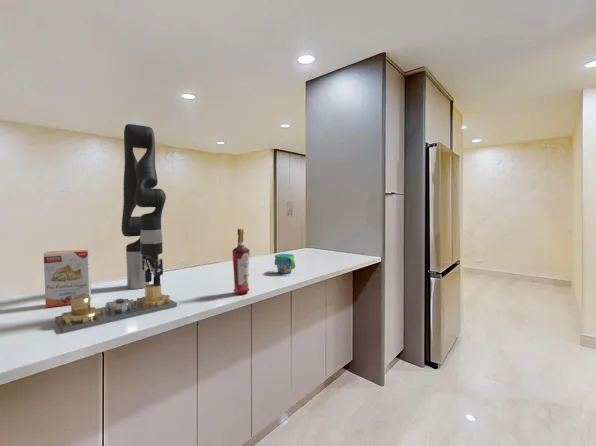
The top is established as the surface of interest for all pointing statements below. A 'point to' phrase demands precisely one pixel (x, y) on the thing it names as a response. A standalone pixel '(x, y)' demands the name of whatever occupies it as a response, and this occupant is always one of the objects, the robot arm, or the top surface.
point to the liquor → (241, 265)
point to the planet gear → (153, 297)
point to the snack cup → (284, 263)
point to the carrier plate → (102, 313)
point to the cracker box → (66, 276)
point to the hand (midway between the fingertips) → (152, 283)
